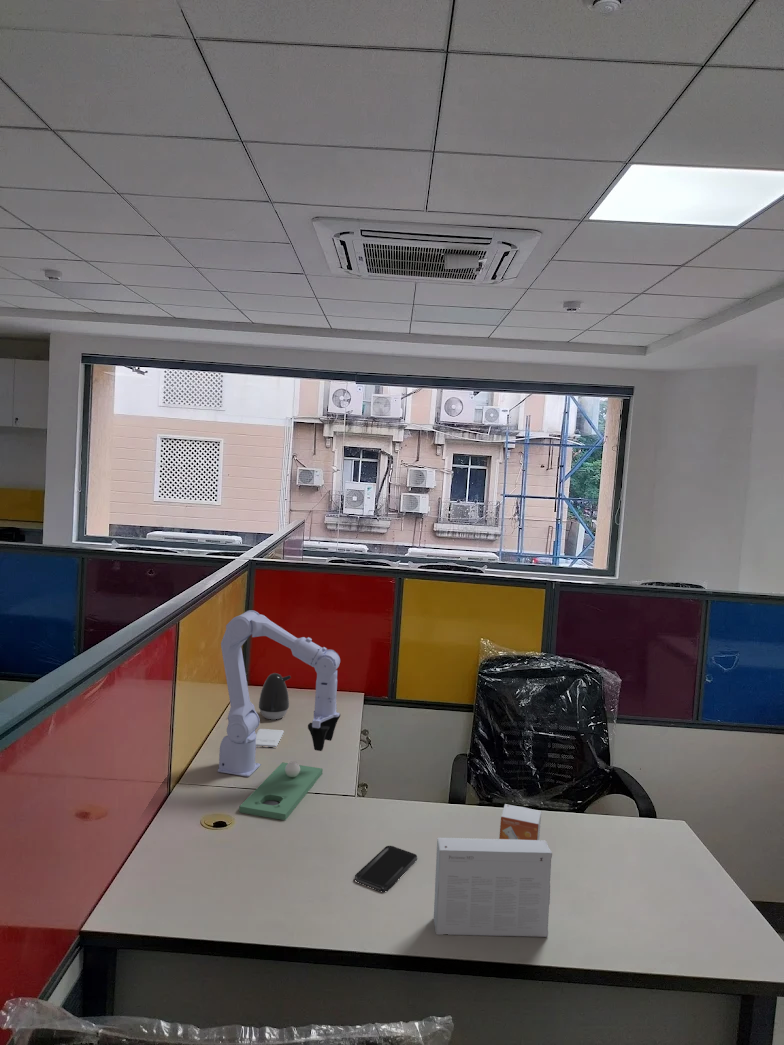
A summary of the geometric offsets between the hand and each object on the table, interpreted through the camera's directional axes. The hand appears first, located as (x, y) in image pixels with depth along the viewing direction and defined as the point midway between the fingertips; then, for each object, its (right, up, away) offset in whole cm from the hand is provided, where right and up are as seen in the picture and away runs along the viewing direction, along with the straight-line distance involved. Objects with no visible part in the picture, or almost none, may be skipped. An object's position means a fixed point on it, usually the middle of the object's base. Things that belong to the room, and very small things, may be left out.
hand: (323, 744), depth 183 cm
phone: (+18, -14, -40) cm, 46 cm away
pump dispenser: (-22, -6, +46) cm, 51 cm away
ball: (-8, -6, -2) cm, 10 cm away
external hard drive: (-20, -8, +26) cm, 34 cm away
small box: (+46, -15, -39) cm, 62 cm away
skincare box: (+37, -15, -57) cm, 70 cm away
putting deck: (-10, -10, -8) cm, 16 cm away
